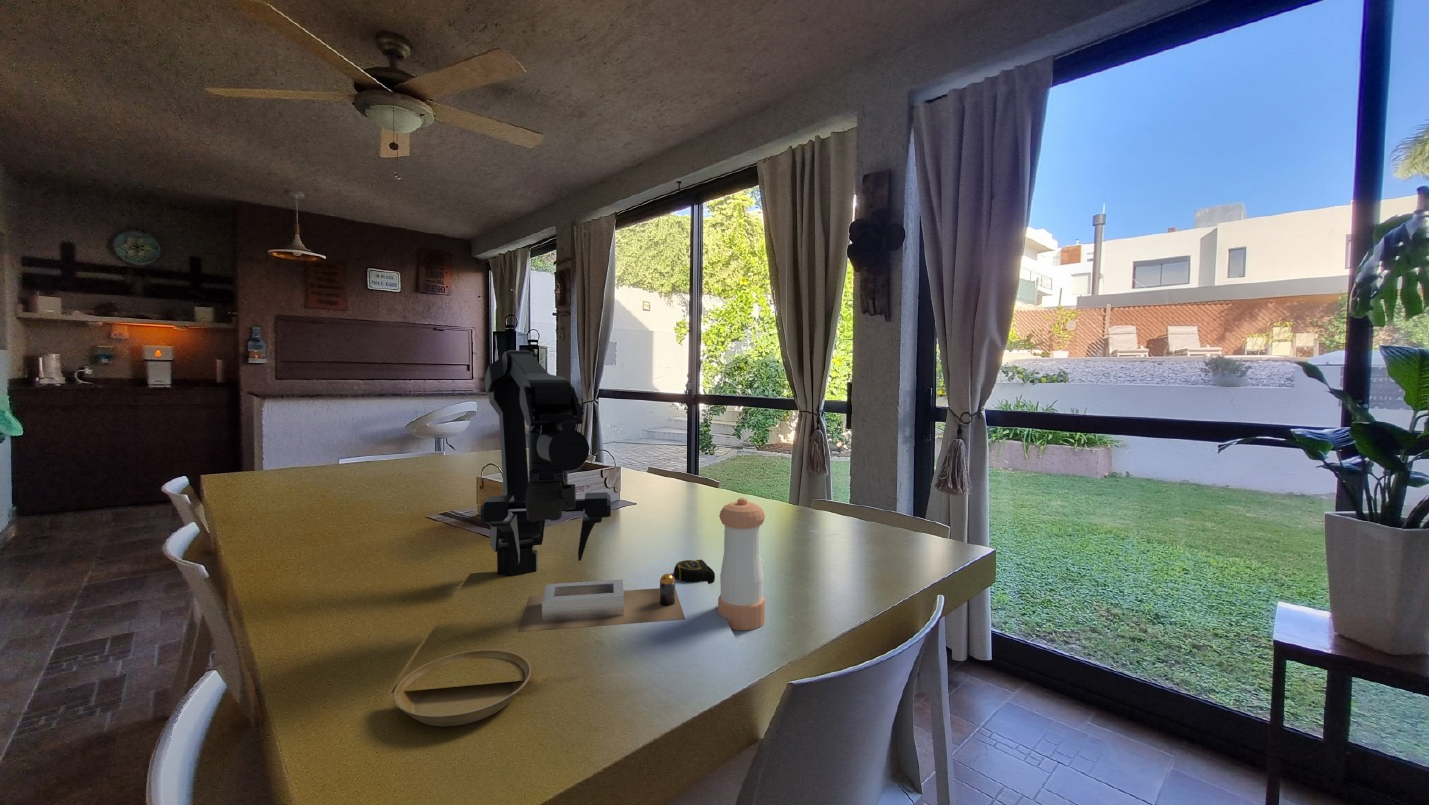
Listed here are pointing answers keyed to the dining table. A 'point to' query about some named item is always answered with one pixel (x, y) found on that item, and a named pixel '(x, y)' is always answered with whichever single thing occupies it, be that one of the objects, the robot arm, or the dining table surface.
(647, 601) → the keeper board
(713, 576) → the tape measure
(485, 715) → the plant saucer
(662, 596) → the keeper stud
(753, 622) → the pepper shaker
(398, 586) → the dining table surface
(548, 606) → the grey rectangular frame
